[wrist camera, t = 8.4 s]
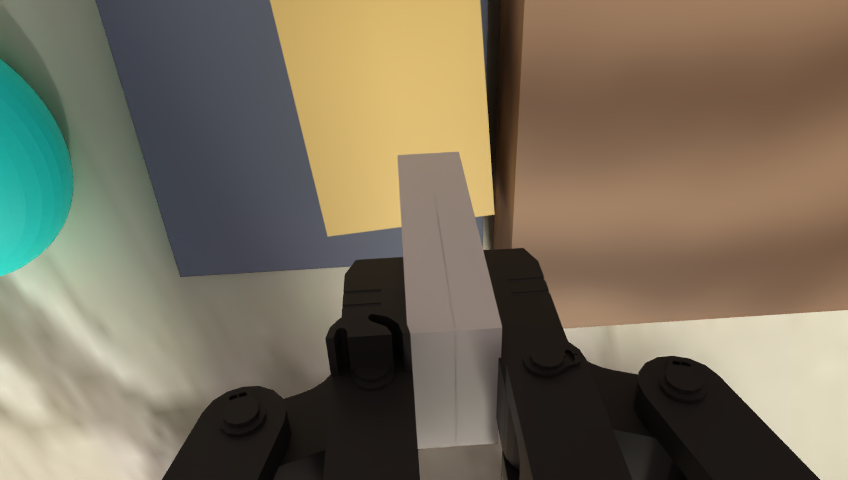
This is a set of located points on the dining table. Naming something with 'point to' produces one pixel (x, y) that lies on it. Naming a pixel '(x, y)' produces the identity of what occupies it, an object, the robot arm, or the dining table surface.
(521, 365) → the robot arm
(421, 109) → the yellow flat block
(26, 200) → the donuts
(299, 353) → the dining table surface
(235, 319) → the dining table surface
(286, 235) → the mat
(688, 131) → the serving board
